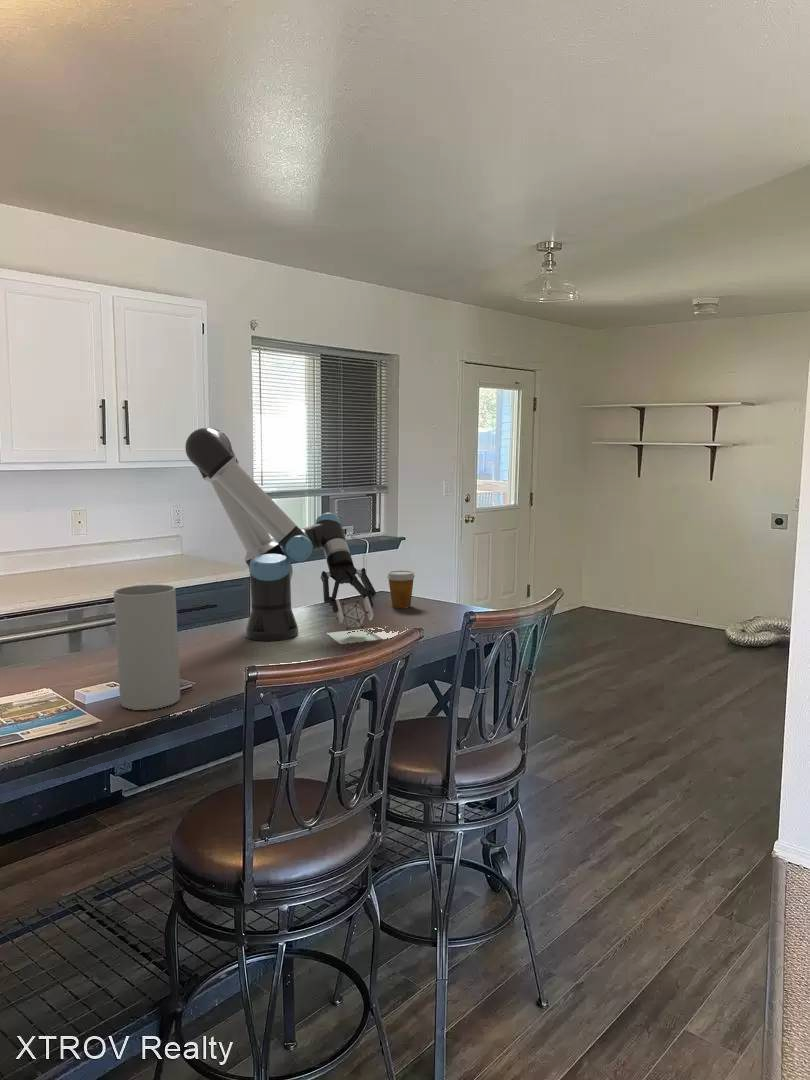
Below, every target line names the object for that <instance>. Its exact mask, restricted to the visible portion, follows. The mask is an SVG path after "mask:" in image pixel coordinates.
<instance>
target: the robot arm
mask: <svg viewBox="0 0 810 1080" xmlns="http://www.w3.org/2000/svg"><path fill="white" fill-rule="evenodd" d="M184 450H185V453H186V456H187V458H188V460H189V461H190V462H191V463H192V464H193V465H194V466H196V467H197V469H198V471H199V472H200V475H201V477H202V478H203V480H204V481H208V482H210V483H211V485H212V487H213V489H214V491H215V493H216V495H217V497H218V499H219V501H220V502H221V505H222V506H223V509H224V511H225V513H226V515H227V517H228V518H229V520H230V522H231V524H232V526H233V529H234V530H235V533H236V534H237V537H238V538H239V541H240V542H241V544H242V546H243V548H244V550H245V553H246V554H245V557H244V561H245V563H246V566H247V567H248V570H249V571H248V572H249V577H250V603H251V604H250V605H251V607H250V608H251V611H250V614H249V618H248V622H247V624H246V628H245V635H246V638H247V639H249V640H254V641H258V642H259V641H262V642H264V641H265V642H273V641H282V640H287V639H291V638H294V637H296V636H298V635H299V626H298V623H297V621H296V618H295V616H294V615H295V614H294V613H293V612H294V611H293V609H292V589H291V588H292V587H291V586H292V584H291V581H292V578H293V566H292V563H291V561H290V559H292V560H293V561H294V562H295V561H296V562H301V561H303V562H304V561H305V560H307V559H308V558H309V557H310V556H311V554H312V553H313V551H316V550H319V549H323V552H324V556H325V560H326V563H327V567H328V572H327V571H325V570H323V571H322V572H321V575H320V579H321V581H322V591H323V592H322V593H323V603H324V604H329V606H331V609H332V612H333V613H336V615H337V618H338V619H337V620H338V622H339V624H343V620H344V616H343V613H342V606H341V603H340V600H339V598H338V599H337V595H338V593H339V592H338V591H339V587H340V585H343V584H350V585H351V586H352V587H353V588H354V589H355V590H356V591H357V592H358V593H359V595H360V596H361V597H362V598H363V604H364V608H365V609H364V610H365V611H366V612H367V611H368V612H369V613H366V616H367V618H368V621H372V620H373V617H374V616H375V615H374V611H373V609H374V603H373V600H374V599H375V597H376V594H377V592H376V590H375V588H374V586H373V584H372V582H371V580H370V579H369V577H368V575H367V572H366V571H367V570H366V568H365V567H362V568H361V569H357V568H356V567H355V565H354V561H353V557H352V555H351V551H350V548H349V545H348V542H347V539H346V535H345V533H344V529H343V525H342V523H341V520H340V518H339V517H338V516H339V515H337V514H335V513H333V512H325V513H322V514H321V515H320V516H319V515H318V516H317V518H316V520H315V524H312V525H310V526H308V527H304V528H300V527H299V526H297V523H295V522H294V521H293V520H292V519H291V518H290V517H289V516H288V515H287V513H285V512H284V510H282V509H281V507H280V506H278V504H277V503H276V502H275V501H274V500H273V499H272V498H271V497H270V496H269V495H268V494H267V493H266V492H265V491H264V490H263V489H262V488H261V486H259V485H258V484H257V482H255V481H254V479H253V478H252V477H251V476H250V475H249V474H248V473H247V472H246V471H245V470H244V469H243V468H242V467H241V466H240V465H239V464H240V462H239V461H238V459H237V456H236V454H235V453H234V450H233V447H232V442H231V441H230V439H229V437H228V436H227V435H226V434H225V433H223V431H221V430H219V429H216V428H210V427H201V428H198V429H195V430H194V431H192V432H191V433H190V434H189V435H188V437H187V439H186V442H185V449H184ZM271 537H272V538H273V539H274V540H275V541H274V540H273V539H272V538H271ZM289 558H290V559H289ZM357 576H358V577H357ZM330 578H331V579H333V580H334V585H333V589H332V592H331V593H332V594H331V596H330V585H329V579H330ZM358 578H360V580H359V579H358Z"/></svg>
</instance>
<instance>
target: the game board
mask: <svg viewBox="0 0 810 1080" xmlns="http://www.w3.org/2000/svg"><path fill="white" fill-rule="evenodd" d="M384 627H385V628H386V627H387V626H384ZM373 628H374V627H373ZM373 628H361V629H352V630H351V631H350V630H343V631H333V632H326V633H325V634H326V635H327V636H328V635H329V636H328V637H329V638H331V639H332V640H334V641H335V642H336V643H338V644H339V645H348V644H347V643H349V644H357V643H356V642H358V643H365V642H364V641H367V642H374V641H382V640H383V641H384V640H391V639H390V638H392V637H394V636H396V635H398V632H399V631H397V632H394V631H393V632H394V633H392V631H390V632H389V633H386V632H385V631H382V632H377V633H374V632H373V633H372V634H370V633H371V632H372V631H371V632H369V631H368V630H369V629H371V630H375V629H373ZM377 628H378V629H382V628H379V627H377ZM366 629H368V630H366ZM360 630H363V631H360ZM365 630H366V631H367V632H366V631H365ZM382 630H384V629H382ZM407 630H408V628H407ZM352 631H355V632H352ZM357 631H358V632H357ZM364 631H365V632H364ZM405 631H406V630H405ZM405 631H403V632H405ZM348 632H351V633H348ZM403 632H401V633H403ZM347 633H348V634H347ZM368 633H369V634H368ZM401 633H399V634H401ZM367 634H368V635H367ZM387 638H388V639H387Z"/></svg>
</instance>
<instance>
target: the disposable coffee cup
mask: <svg viewBox="0 0 810 1080" xmlns="http://www.w3.org/2000/svg"><path fill="white" fill-rule="evenodd" d="M415 576H416V575H415V573H414V571H412V570H392V571H391V570H390V571H389V572H388V575H387V576H386V578H387V580H388V585H389V593H390V599H391V607H392V608H393V607H395V608H394V609H399V608H401V609H407V608H406V607H409V608H410V607H411V603H412V597H413V587H414V586H413V585H414V579H415Z"/></svg>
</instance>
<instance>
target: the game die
mask: <svg viewBox="0 0 810 1080" xmlns="http://www.w3.org/2000/svg"><path fill="white" fill-rule="evenodd" d="M359 602H360V601H359V600H357V601H356V602H352V603H351V602H350V603H344V602H342V601H341V604H342V606H341V609H342V613H343V616H344V620H343V623H342V624H343V625H344V626H345V627H346V630H345V631H349V629H352V628H361V629H364V626H363V623H364V621H365V618H366V616H367V613H369V612H368V611H367V612H366V609H364V608H363V607H362V606H361V605H360V604H359ZM335 619H336V620H339V619H338V617H336V618H335Z"/></svg>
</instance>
